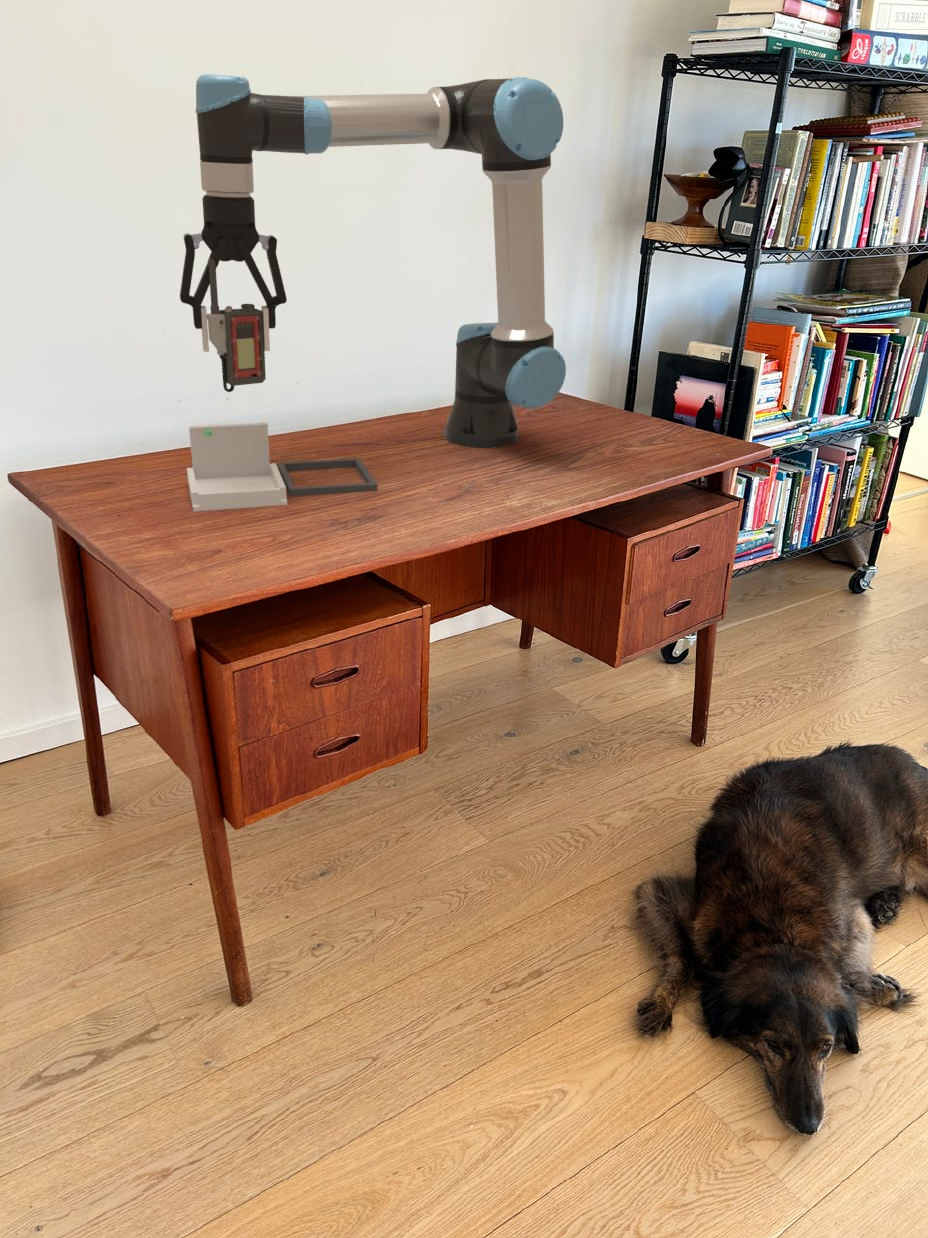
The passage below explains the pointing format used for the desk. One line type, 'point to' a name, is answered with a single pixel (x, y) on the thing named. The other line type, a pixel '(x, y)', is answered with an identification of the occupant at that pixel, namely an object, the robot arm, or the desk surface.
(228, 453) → the dock
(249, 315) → the walkie-talkie
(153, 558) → the desk surface
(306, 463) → the grey square frame
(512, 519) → the desk surface
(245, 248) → the robot arm
